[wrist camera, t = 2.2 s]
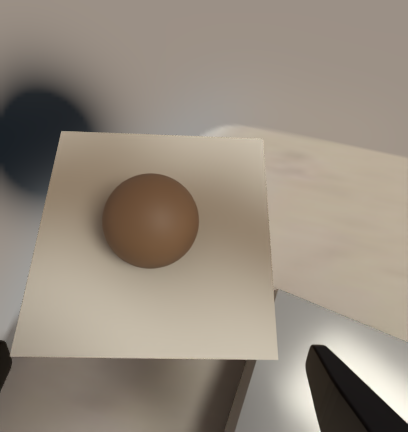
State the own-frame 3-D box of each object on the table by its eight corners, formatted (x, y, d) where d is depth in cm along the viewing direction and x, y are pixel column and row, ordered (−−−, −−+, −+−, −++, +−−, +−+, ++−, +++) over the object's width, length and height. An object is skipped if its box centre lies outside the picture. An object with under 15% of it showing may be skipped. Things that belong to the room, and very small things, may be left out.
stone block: (383, 539, 16) (425, 587, 13) (214, 456, 17) (218, 484, 14) (408, 352, 19) (445, 357, 16) (266, 293, 20) (278, 288, 17)
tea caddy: (219, 334, 18) (311, 374, 4) (135, 332, 18) (-62, 369, 4) (218, 252, 20) (281, 90, 6) (143, 250, 20) (26, 80, 6)
